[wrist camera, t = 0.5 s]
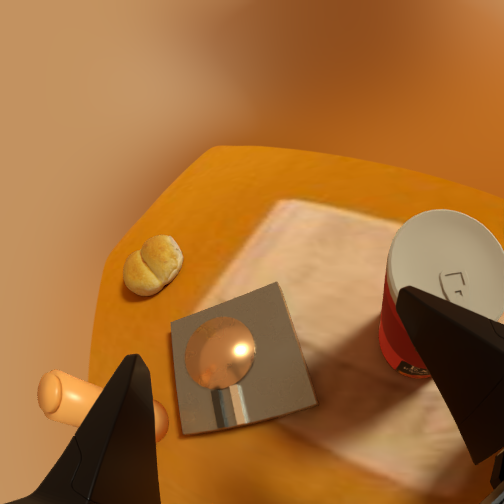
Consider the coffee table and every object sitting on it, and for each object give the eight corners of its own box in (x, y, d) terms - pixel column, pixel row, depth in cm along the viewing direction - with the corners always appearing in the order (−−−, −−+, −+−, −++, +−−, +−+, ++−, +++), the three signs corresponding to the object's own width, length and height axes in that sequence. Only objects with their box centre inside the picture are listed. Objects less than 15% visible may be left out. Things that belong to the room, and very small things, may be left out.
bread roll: (128, 271, 38) (111, 256, 35) (174, 236, 39) (159, 218, 36) (138, 311, 33) (118, 296, 30) (192, 271, 33) (174, 252, 30)
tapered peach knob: (171, 441, 21) (62, 423, 11) (135, 443, 21) (32, 421, 12) (165, 396, 24) (64, 357, 15) (131, 402, 25) (35, 365, 15)
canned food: (393, 394, 17) (423, 367, 9) (365, 311, 22) (362, 232, 14) (470, 356, 16) (533, 297, 8) (436, 281, 21) (463, 194, 13)
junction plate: (319, 404, 19) (315, 403, 18) (191, 434, 21) (180, 434, 19) (281, 288, 27) (275, 279, 26) (178, 327, 29) (168, 320, 27)
